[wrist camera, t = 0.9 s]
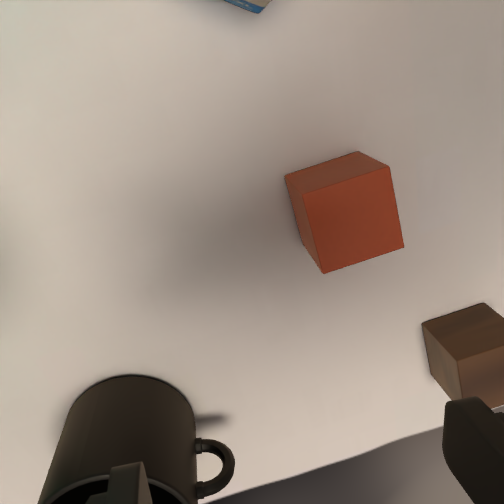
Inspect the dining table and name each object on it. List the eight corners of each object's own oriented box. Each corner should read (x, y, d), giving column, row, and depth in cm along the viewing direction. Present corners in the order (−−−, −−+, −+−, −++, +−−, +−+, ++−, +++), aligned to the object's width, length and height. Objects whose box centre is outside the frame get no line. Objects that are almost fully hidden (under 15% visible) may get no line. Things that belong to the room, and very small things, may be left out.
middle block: (283, 175, 30) (301, 194, 25) (358, 150, 30) (389, 165, 25) (303, 244, 32) (323, 274, 27) (373, 221, 32) (405, 247, 27)
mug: (232, 461, 38) (245, 573, 29) (78, 482, 37) (46, 604, 28) (225, 362, 34) (237, 457, 26) (54, 381, 33) (10, 487, 25)
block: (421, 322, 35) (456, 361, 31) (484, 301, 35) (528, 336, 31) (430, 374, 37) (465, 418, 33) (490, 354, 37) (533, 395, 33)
